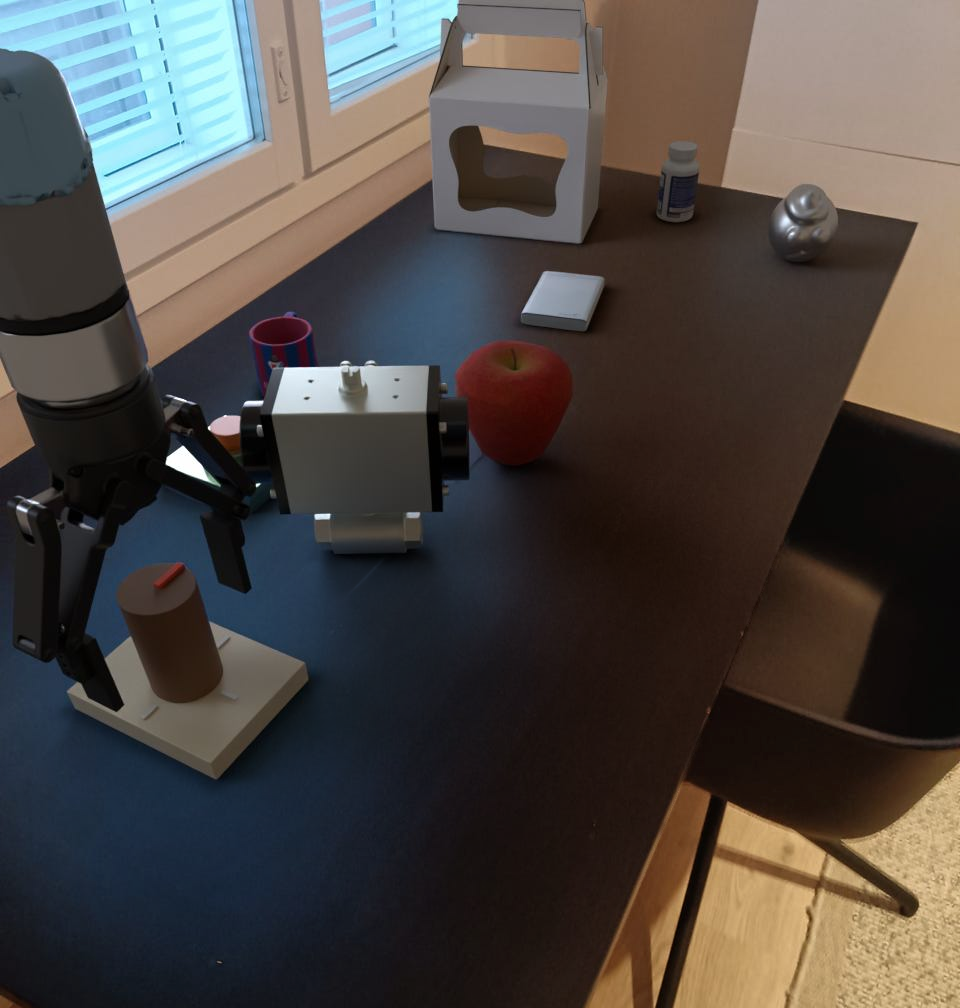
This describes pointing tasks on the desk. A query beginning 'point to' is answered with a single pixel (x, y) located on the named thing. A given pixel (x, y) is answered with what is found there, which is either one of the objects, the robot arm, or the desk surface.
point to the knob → (171, 631)
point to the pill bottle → (678, 183)
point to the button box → (195, 470)
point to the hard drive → (563, 301)
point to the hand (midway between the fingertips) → (174, 640)
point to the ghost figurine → (803, 224)
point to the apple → (514, 398)
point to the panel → (201, 702)
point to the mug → (281, 346)
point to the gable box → (517, 124)
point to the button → (227, 431)
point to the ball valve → (358, 450)
